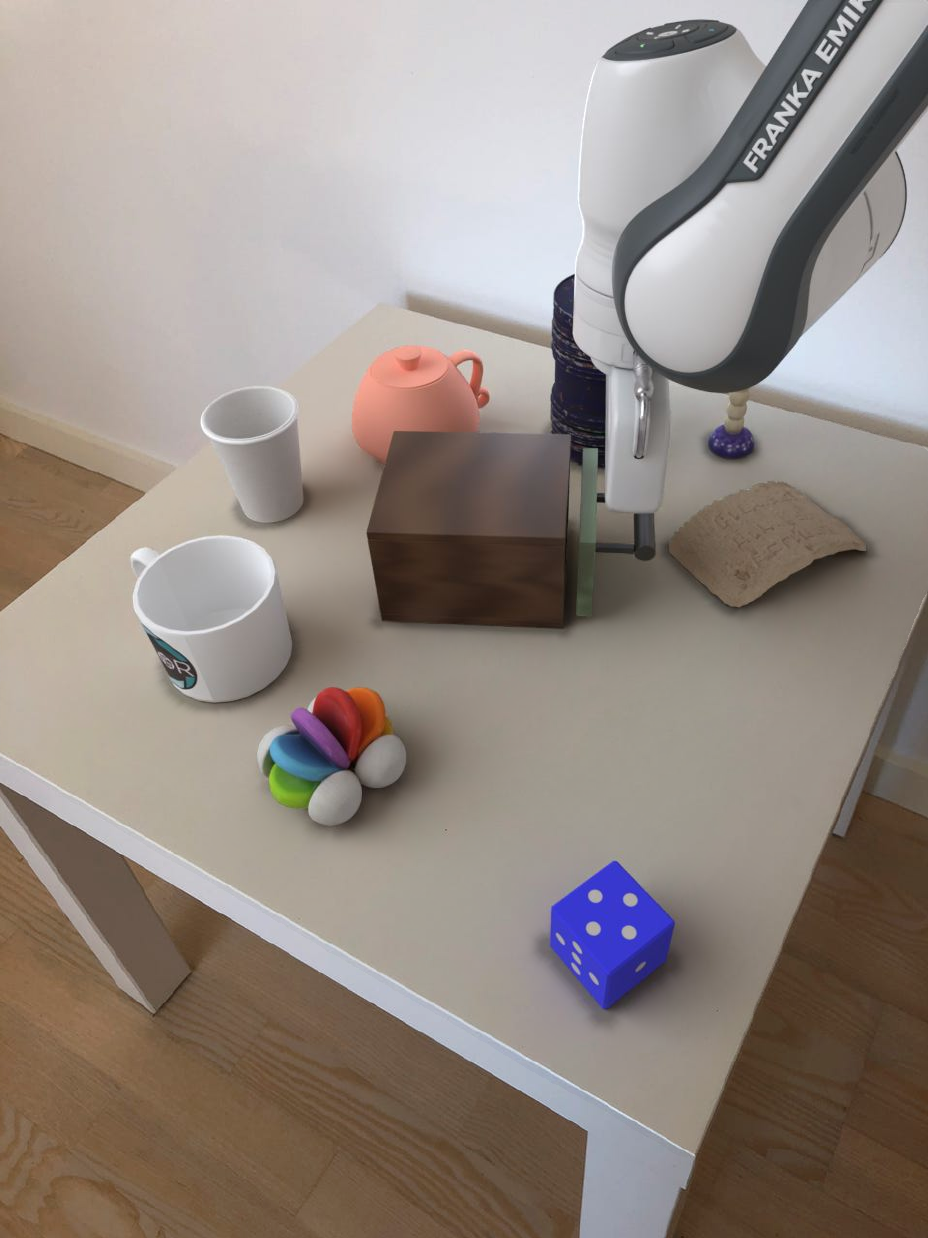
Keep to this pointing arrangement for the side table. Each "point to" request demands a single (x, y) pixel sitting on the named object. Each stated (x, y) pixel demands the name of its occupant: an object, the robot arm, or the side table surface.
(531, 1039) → the side table surface
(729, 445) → the toy lamp
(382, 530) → the cabinet
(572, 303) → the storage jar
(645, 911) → the die
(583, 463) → the drawer
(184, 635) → the mug
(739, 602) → the clay tablet
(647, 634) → the side table surface
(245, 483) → the dixie cup
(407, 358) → the sugar bowl
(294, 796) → the rainbow petal toy
